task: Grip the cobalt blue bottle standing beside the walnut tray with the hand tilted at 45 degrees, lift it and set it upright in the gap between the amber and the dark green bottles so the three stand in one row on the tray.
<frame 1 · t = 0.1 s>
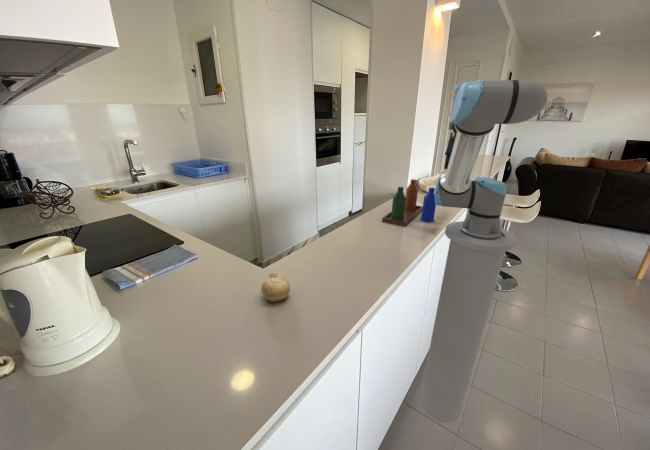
hand: (450, 167, 135), 25 cm above the worktop, tool pointing down, fingers open, 13 cm apart
green bottle: (397, 220, 136), point 1 cm above the worktop, touching tray
blue bottle: (427, 220, 138), on the worktop
tray: (403, 215, 144), on the worktop
amber bottle: (409, 209, 152), point 1 cm above the worktop, touching tray
onion: (276, 297, 79), on the worktop
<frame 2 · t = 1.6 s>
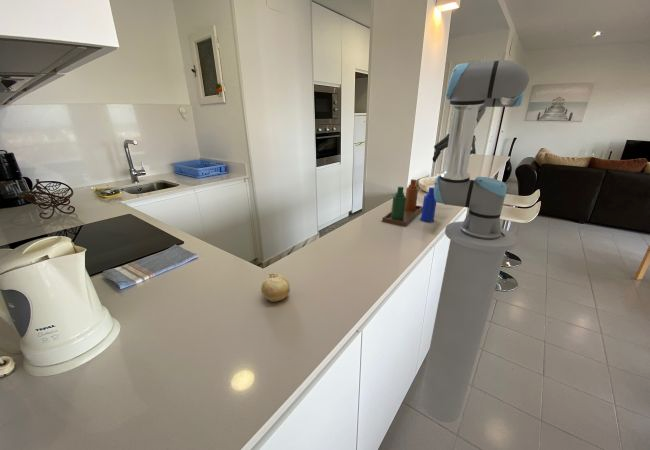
hand: (446, 162, 135), 28 cm above the worktop, tool tilted 45°, fingers open, 13 cm apart
nothing on the worktop moved.
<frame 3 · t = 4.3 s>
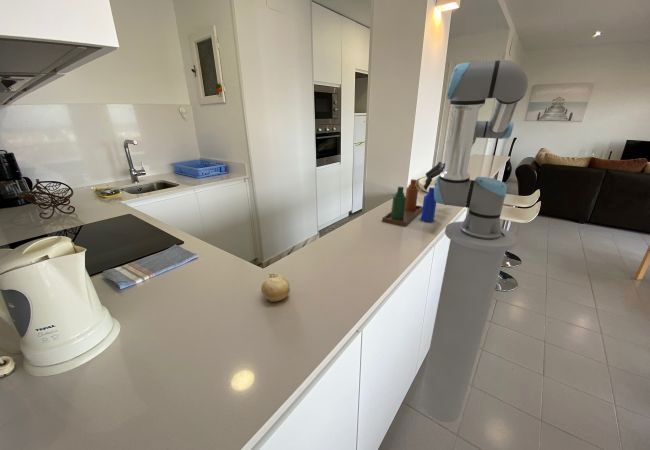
hand: (437, 190, 137), 14 cm above the worktop, tool tilted 45°, fingers open, 13 cm apart
nothing on the worktop moved.
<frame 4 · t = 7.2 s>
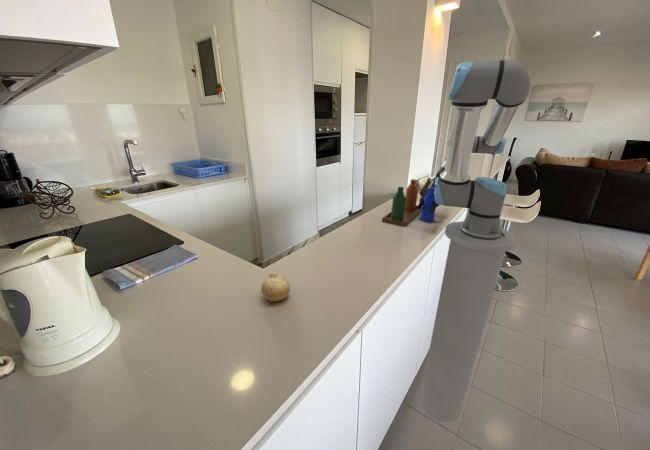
hand: (425, 209, 134), 6 cm above the worktop, tool tilted 45°, fingers closed on blue bottle, 6 cm apart
blue bottle: (427, 220, 138), on the worktop, touching gripper
everything else where it was.
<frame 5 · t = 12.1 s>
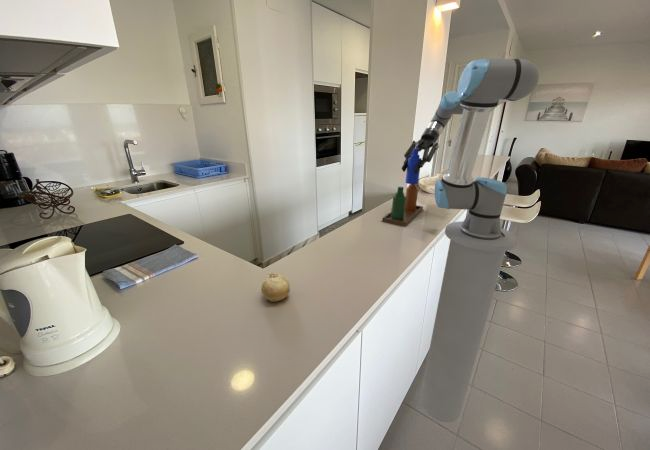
hand: (409, 170, 132), 24 cm above the worktop, tool tilted 45°, fingers closed on blue bottle, 6 cm apart
blue bottle: (411, 182, 137), point 18 cm above the worktop, touching gripper
everything else where it was.
when the fingers open (7 cm above the worktop, at t = 17.0 s): blue bottle stays where it is, resting on tray.
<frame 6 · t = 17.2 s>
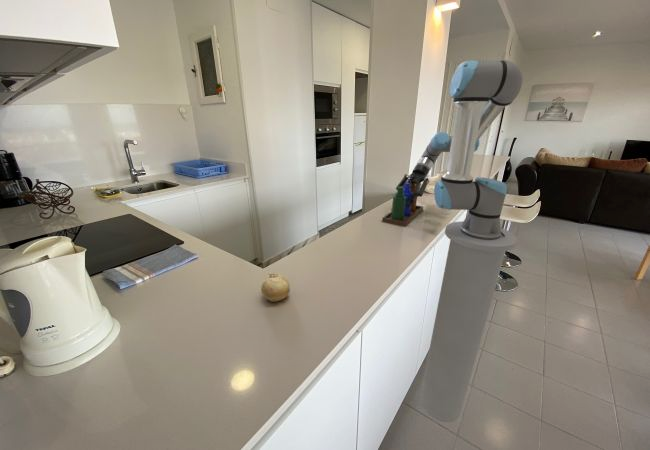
hand: (401, 204, 140), 7 cm above the worktop, tool tilted 45°, fingers open, 7 cm apart
blue bottle: (403, 214, 144), point 1 cm above the worktop, touching tray
everything else where it was.
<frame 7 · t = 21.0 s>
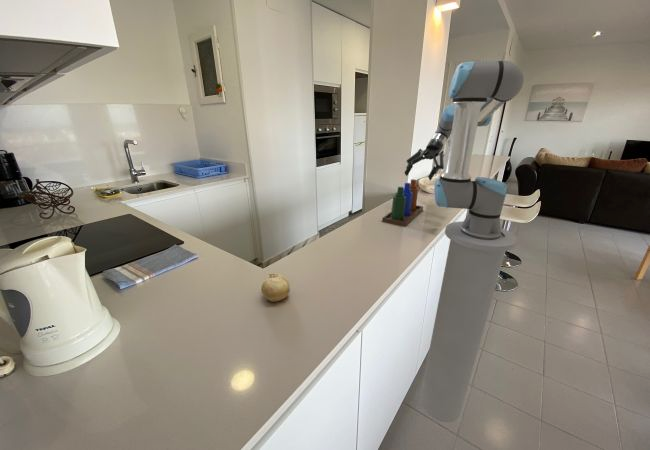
hand: (417, 176, 142), 20 cm above the worktop, tool tilted 45°, fingers open, 13 cm apart
nothing on the worktop moved.
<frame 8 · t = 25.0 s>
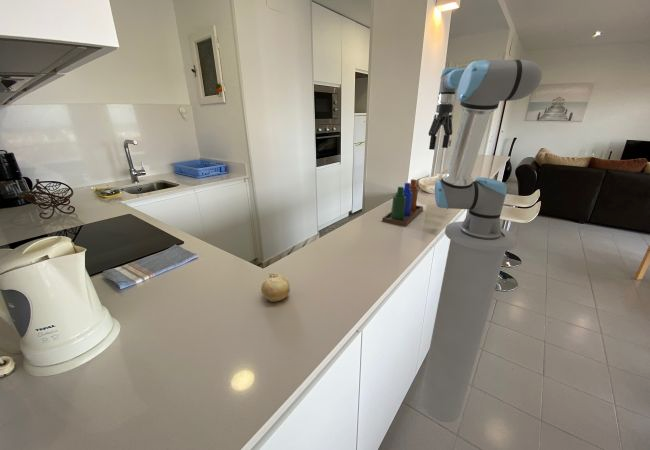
hand: (438, 148, 144), 33 cm above the worktop, tool pointing down, fingers open, 13 cm apart
nothing on the worktop moved.
at the end: blue bottle 0.1 cm from the target spot, point 0.6 cm above the worktop; blue bottle tilted 0°; the gripper is holding nothing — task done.
